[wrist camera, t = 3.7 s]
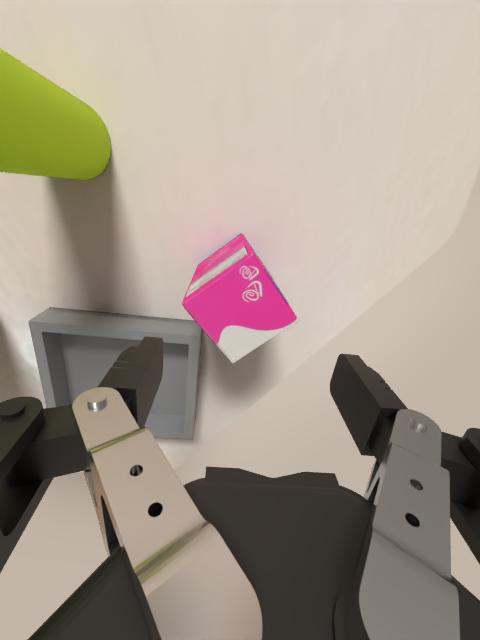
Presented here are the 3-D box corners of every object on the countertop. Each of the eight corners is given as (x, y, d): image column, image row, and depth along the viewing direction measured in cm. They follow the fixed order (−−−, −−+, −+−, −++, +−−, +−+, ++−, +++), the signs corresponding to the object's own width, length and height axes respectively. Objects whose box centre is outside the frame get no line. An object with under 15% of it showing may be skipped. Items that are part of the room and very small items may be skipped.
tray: (67, 409, 35) (51, 431, 32) (50, 307, 29) (28, 321, 26) (195, 417, 36) (192, 439, 33) (202, 321, 30) (199, 336, 27)
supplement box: (274, 277, 29) (302, 324, 18) (228, 308, 30) (229, 369, 19) (243, 230, 27) (253, 252, 16) (195, 265, 28) (175, 307, 17)
